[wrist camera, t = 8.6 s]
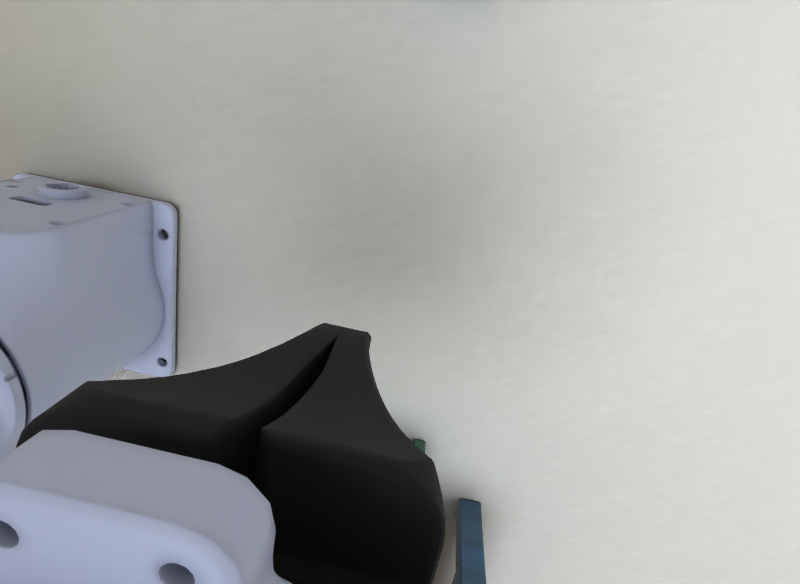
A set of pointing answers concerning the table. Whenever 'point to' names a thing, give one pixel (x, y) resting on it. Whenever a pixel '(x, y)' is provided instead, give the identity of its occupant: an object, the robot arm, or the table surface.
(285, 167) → the table surface
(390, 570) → the robot arm
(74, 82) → the table surface
